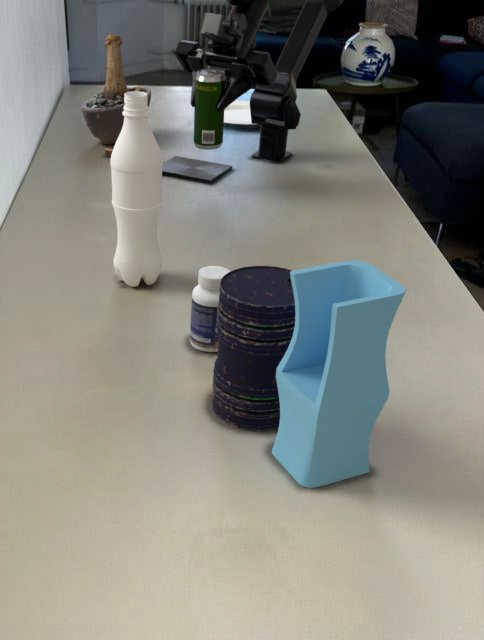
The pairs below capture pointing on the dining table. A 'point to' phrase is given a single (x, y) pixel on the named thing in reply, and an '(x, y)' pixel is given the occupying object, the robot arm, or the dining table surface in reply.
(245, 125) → the plate
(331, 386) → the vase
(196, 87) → the beer can
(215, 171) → the spatula
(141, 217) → the water bottle
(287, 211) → the dining table surface
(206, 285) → the pill bottle
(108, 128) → the planter
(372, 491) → the dining table surface
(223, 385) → the storage jar
